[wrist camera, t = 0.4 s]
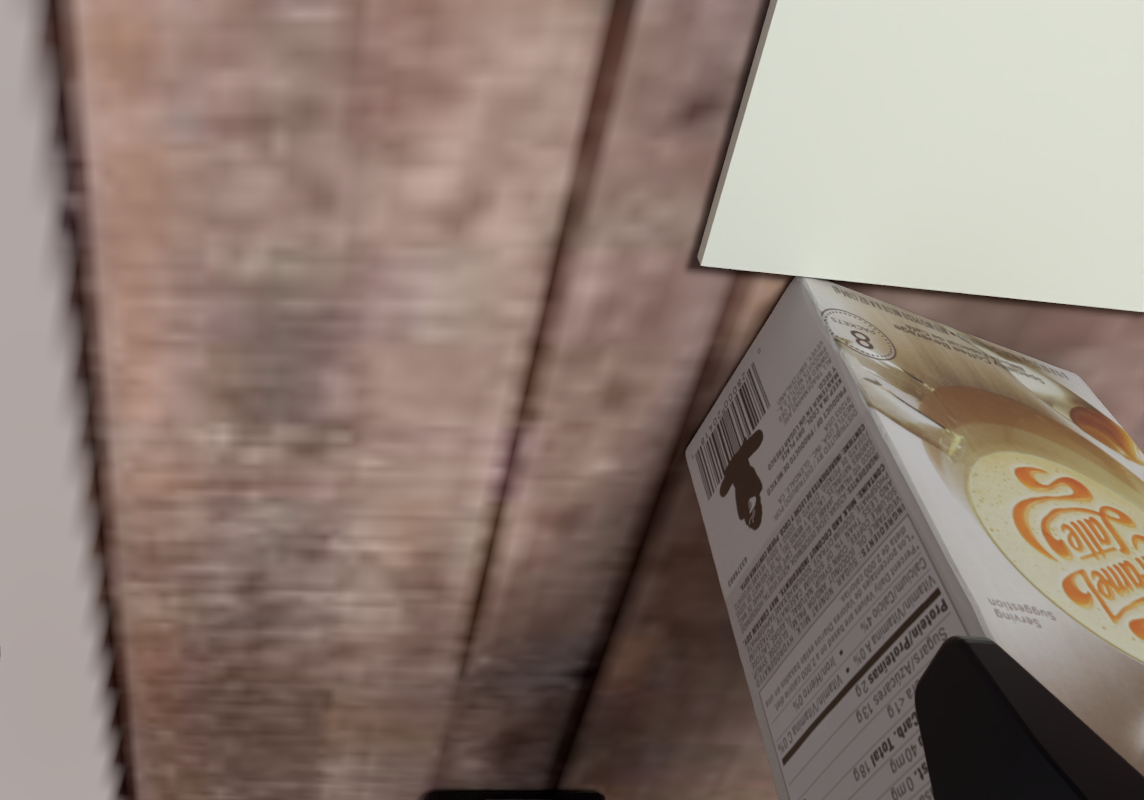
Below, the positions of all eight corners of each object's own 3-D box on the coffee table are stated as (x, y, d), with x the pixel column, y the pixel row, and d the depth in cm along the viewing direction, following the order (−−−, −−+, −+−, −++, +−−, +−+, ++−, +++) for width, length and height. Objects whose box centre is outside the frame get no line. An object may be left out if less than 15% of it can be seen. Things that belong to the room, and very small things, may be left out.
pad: (1155, 305, 26) (1164, 314, 25) (697, 256, 23) (700, 265, 23) (1388, -76, 20) (1403, -71, 20) (823, -187, 18) (830, -183, 18)
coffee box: (1088, 366, 27) (1666, 1051, 14) (943, 531, 30) (1303, 1202, 18) (793, 260, 24) (1190, 1008, 11) (668, 457, 27) (866, 1199, 15)
